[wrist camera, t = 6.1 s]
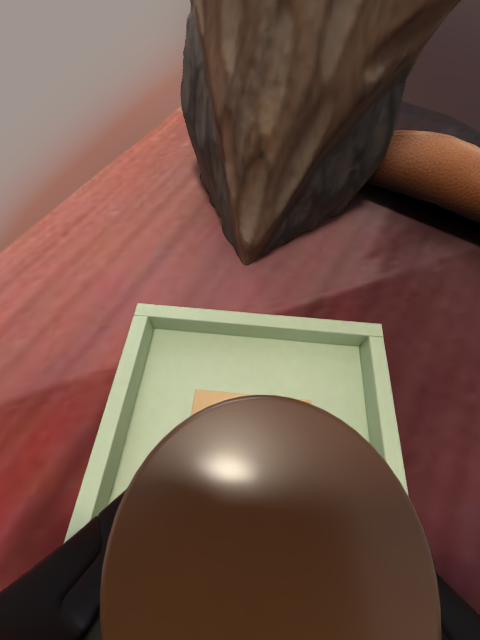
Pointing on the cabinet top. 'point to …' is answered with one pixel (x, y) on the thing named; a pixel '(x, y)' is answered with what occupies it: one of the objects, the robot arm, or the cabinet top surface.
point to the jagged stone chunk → (295, 105)
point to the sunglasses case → (433, 171)
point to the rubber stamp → (266, 533)
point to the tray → (233, 384)
